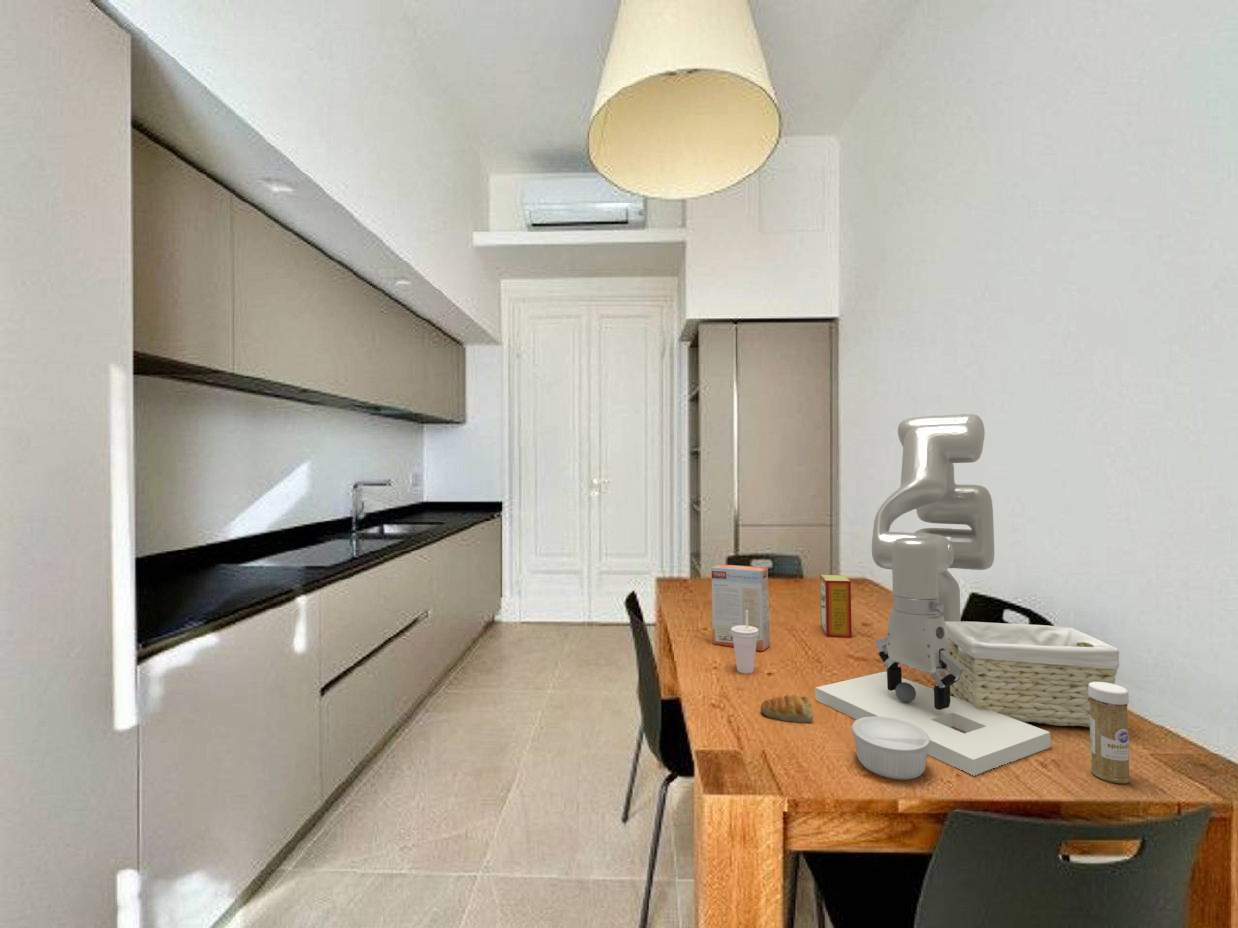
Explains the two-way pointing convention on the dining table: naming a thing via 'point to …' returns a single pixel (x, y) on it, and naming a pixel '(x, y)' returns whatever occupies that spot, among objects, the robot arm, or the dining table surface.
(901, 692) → the ball
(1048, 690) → the storage basket
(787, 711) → the pastry
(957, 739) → the board
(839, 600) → the baking soda box
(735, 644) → the smoothie
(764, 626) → the cracker box
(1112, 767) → the sprinkles bottle
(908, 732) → the ramekin
